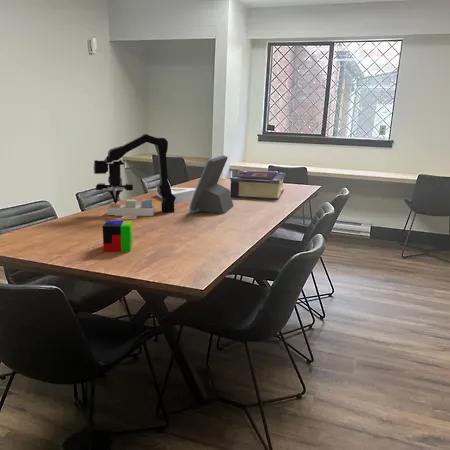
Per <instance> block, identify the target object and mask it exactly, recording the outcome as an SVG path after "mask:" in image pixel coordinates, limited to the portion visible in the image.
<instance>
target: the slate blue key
mask: <svg viewBox="0 0 450 450" xmlns="http://www.w3.org/2000/svg"><path fill="white" fill-rule="evenodd" d="M140 206H141V208H152V206H153V199H142V200H141V201H140Z"/></svg>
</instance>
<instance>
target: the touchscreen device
mask: <svg viewBox="0 0 450 450" xmlns="http://www.w3.org/2000/svg"><path fill="white" fill-rule="evenodd" d="M227 161H228V156H226V155H224V154H220V155H217V156H214V157H211V158H209V159H208V160H207V161H206V164H205V165H204V169H203V170H202V173H201V175H200V178H199V180H198V183H197V186H196V190H195V192H194V195H193V198H192V200H190V201H191V202H190V205H189V212H190V214H194V213H197V212H198V213H199V212H203V213H204V212H205V213H212V214H213V213H214V214H220V215H225V214H226V213H228V212H229V211H230V210H231V209H232V208H233V207H234V202H233V197H231V193H230V188H227V187H225V186H223V185H220V184H219V180H220V177H221V175H222V172H223V170H224V168H225V166H226V163H227Z"/></svg>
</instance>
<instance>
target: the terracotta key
mask: <svg viewBox="0 0 450 450" xmlns="http://www.w3.org/2000/svg"><path fill="white" fill-rule="evenodd" d="M121 205H122V202H119V201H117V203H115V202H114V201H112V202H110V203H109V206H110V208H121Z"/></svg>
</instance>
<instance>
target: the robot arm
mask: <svg viewBox="0 0 450 450" xmlns="http://www.w3.org/2000/svg"><path fill="white" fill-rule="evenodd" d="M145 143H149V144H152V145H154V147H155V151H156V153H157V159H158V172H159V175H158V176H159V182H158V184H156V187H157V192H158V193H159V195H160V196H161V197H162V198H161V199H162V201H161V204H160V205H161V212H162V213H175V203H174V201H175V199H176V197H175V196H174V195H173V194H172V192H171V188H172V187H171V185H170V183H169V180H168V178H169V177H168V163H167V154H168V153H167V152H168V149H169V148H168V147H169V142H168V140H167V138H164V137H156V136H152V135H150V134H148V133H144V134H142V135H140V136H138V137H137V138H134V139H133V140H131V141H129V142H127V143H125V144H123V145H120V146H116V147H113V148H110V149H109V150H108V152H107V156H106V157H105V159H104V160H99V159H98V160H97V159H96V160H95V159H94V160H93V161H94V162H93V174H94V175H103V174H104V175H107V173H108V177H107V178H108V180H107V182H108V183H109V184H106V183H104V182H100V183H99V182H98V183H97V184H96V185H95V190H96V191H103V190H104V189H107V192H108V193H109V194H110V195H111V197H112V199H113V200H112V201H113V202H115V203H117V202H118V200H119V197H120V194H121V193H122V192H124V190H125V191H133V190H135V184H134V183H125V184H123V180H122V179H123V178H122V177H121V173H122V172H121V165H123V166H124V165H125V163H124V161H122V158H123V157H124V156H125V155H126V154H127V153H128V152H130V151H132V150H135V149H136V148H138V147H140V146H141V145H145Z"/></svg>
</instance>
